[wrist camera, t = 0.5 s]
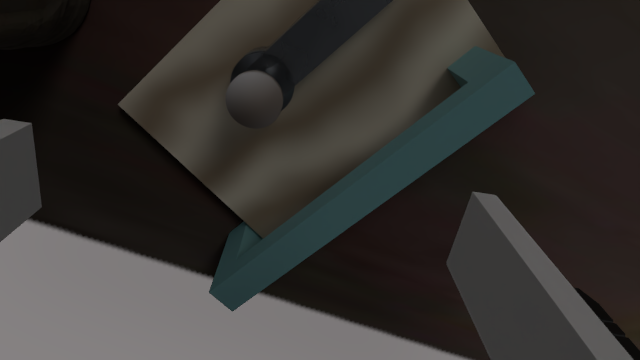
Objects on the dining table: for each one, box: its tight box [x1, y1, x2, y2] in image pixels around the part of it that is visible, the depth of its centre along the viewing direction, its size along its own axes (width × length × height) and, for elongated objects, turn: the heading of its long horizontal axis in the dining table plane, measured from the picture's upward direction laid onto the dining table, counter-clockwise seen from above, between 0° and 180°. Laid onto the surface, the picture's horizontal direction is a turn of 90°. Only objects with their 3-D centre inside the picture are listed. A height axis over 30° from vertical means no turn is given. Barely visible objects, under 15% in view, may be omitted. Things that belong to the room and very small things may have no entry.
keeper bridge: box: [209, 46, 535, 311], centre depth 33 cm, size 2×26×8 cm, turn 131°
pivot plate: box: [118, 0, 505, 239], centre depth 30 cm, size 20×25×9 cm
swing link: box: [230, 0, 393, 111], centre depth 29 cm, size 15×4×3 cm, turn 130°
